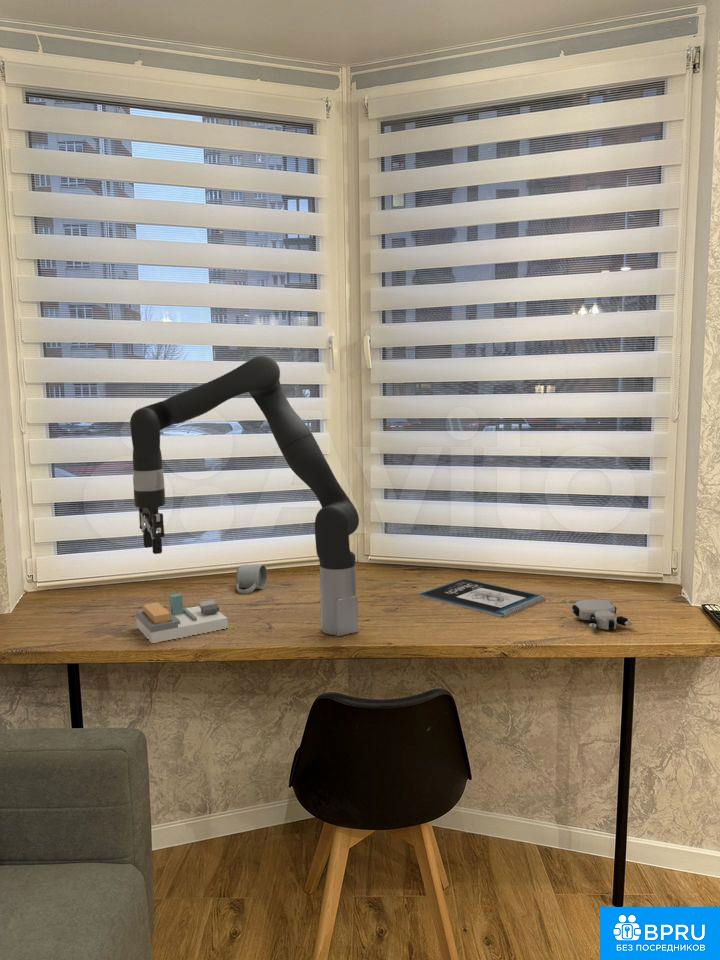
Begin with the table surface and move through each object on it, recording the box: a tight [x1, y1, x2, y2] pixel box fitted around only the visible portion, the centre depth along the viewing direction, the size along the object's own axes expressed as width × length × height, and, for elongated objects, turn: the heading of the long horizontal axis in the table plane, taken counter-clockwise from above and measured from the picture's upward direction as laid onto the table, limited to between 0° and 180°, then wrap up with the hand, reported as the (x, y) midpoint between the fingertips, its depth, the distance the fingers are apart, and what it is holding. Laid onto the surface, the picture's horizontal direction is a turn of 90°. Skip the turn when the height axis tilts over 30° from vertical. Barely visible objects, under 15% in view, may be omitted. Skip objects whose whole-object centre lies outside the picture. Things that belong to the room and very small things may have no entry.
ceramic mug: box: [235, 563, 268, 595], centre depth 227 cm, size 11×8×8 cm
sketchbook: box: [418, 578, 546, 618], centre depth 214 cm, size 22×30×2 cm
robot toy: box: [566, 598, 633, 630], centre depth 191 cm, size 12×4×15 cm
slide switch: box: [169, 593, 184, 615], centre depth 195 cm, size 2×3×5 cm
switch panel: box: [136, 605, 229, 644], centre depth 192 cm, size 14×20×5 cm
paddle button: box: [142, 601, 171, 624], centre depth 189 cm, size 11×4×2 cm, turn 31°
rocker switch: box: [198, 599, 220, 614], centre depth 196 cm, size 5×4×2 cm
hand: (152, 550), depth 186 cm, fingers open, 8 cm apart
